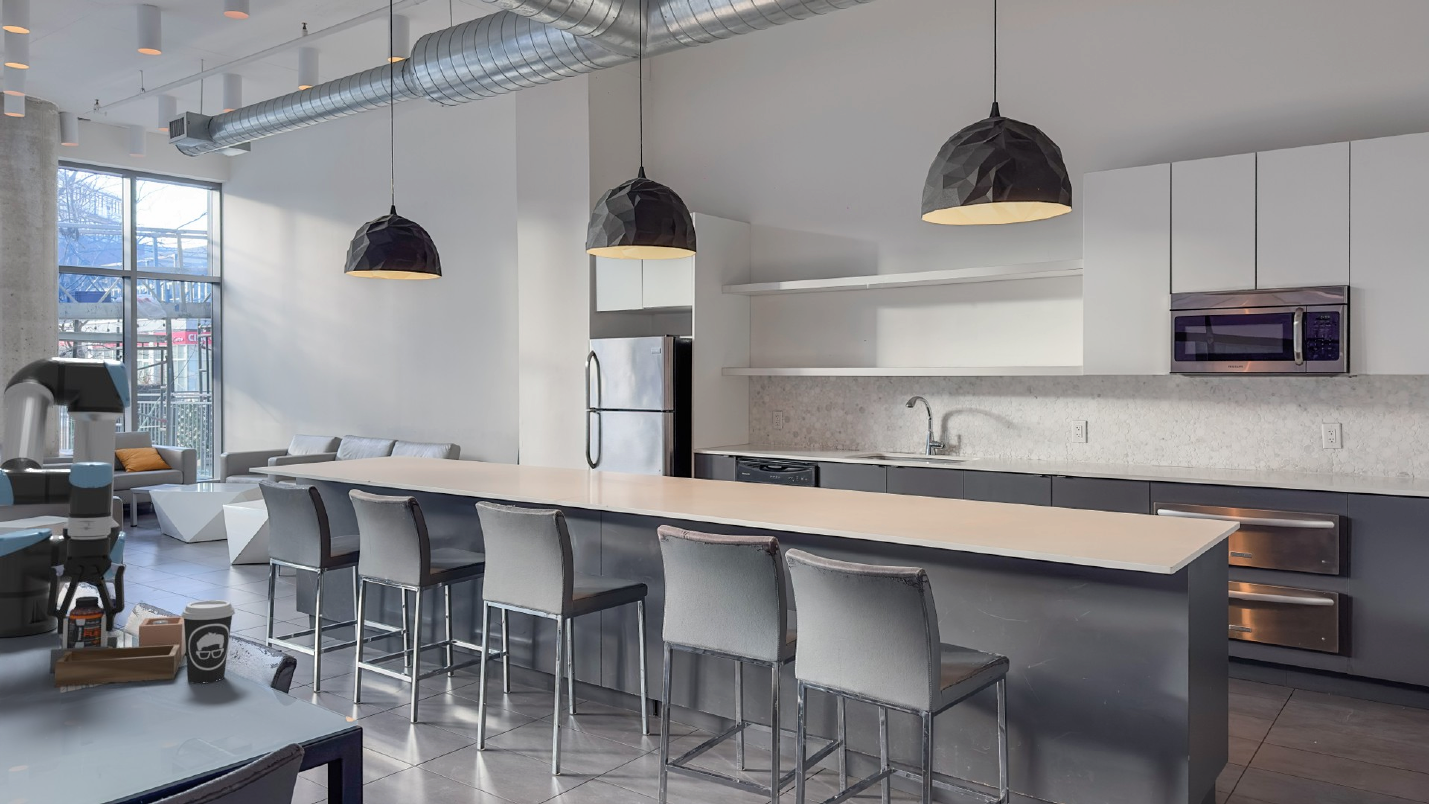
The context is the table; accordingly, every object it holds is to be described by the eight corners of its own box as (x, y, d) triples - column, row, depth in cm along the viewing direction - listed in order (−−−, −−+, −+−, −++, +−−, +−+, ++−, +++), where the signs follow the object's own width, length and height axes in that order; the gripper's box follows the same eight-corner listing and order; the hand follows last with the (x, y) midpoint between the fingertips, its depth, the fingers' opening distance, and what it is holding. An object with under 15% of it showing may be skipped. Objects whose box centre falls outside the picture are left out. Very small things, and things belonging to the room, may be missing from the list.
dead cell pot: (143, 655, 209) (144, 618, 209) (185, 652, 212) (186, 616, 212) (137, 664, 201) (139, 626, 201) (181, 661, 205) (182, 624, 205)
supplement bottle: (84, 657, 197) (86, 601, 197) (60, 654, 198) (62, 599, 198) (108, 650, 203) (110, 596, 203) (84, 647, 204) (86, 594, 204)
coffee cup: (242, 673, 197) (245, 600, 197) (213, 687, 188) (216, 610, 188) (198, 671, 198) (201, 598, 198) (167, 684, 189) (170, 607, 189)
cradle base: (61, 660, 203) (62, 638, 203) (116, 656, 207) (117, 635, 207) (50, 672, 194) (50, 650, 194) (107, 669, 198) (108, 647, 198)
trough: (66, 672, 194) (67, 650, 194) (179, 665, 202) (180, 644, 202) (54, 686, 185) (55, 663, 185) (173, 678, 193) (174, 656, 193)
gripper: (29, 540, 193) (25, 655, 193) (138, 538, 201) (134, 649, 201) (39, 535, 200) (35, 646, 200) (144, 533, 208) (140, 640, 207)
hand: (85, 647), depth 200 cm, fingers closed on supplement bottle, 6 cm apart
